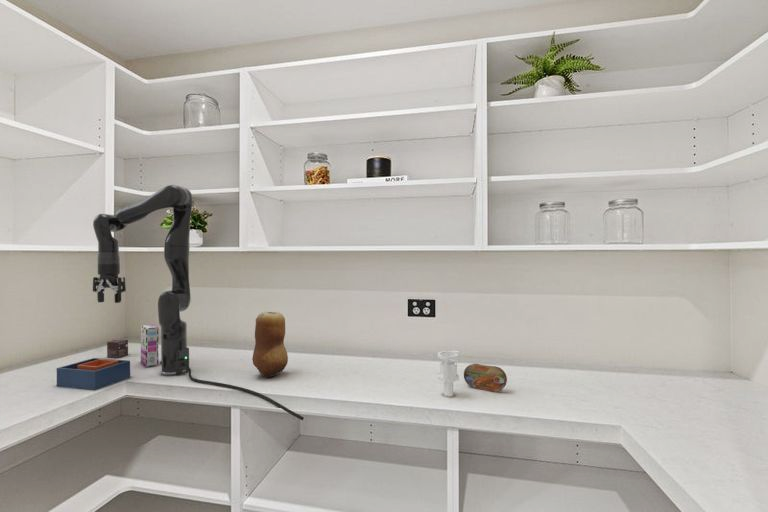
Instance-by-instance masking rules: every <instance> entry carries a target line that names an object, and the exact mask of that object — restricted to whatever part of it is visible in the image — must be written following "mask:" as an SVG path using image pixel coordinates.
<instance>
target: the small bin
mask: <svg viewBox="0 0 768 512" xmlns="http://www.w3.org/2000/svg"><path fill="white" fill-rule="evenodd" d="M106 359H107V358H102V359H98V360H95V361H91V362H87V363H84V364H80V365H77V369H81V370H93V371H96V370H99V369H102V368H106V367H109V366H112V365H116V364H119V361H118V360H119V359H115V360H106Z"/></svg>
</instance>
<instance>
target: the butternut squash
mask: <svg viewBox="0 0 768 512" xmlns="http://www.w3.org/2000/svg"><path fill="white" fill-rule="evenodd" d="M254 327H255V328H254V341H255V343H254V348H253V353H252V365H253V367H255V368H256V369H257V370H258V372H259V374H260V375H262V376H263V377H264V378H266V379H269V378H272V377H274V376H276V375H278V374H280V373H282V372H283V371H284V370H285V368H286V367H287V365H288V362H289V355H288V351H287V349H286V346H285V343H284V342H285V341H284V340H285V337H286V318H285V316H284V315H283V314H282V313H280V312H278V311H261V312H260V313H259V314H258V315H257V317H256V318H255V325H254Z"/></svg>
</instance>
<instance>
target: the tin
mask: <svg viewBox="0 0 768 512" xmlns="http://www.w3.org/2000/svg"><path fill="white" fill-rule="evenodd" d="M463 379H464V381H465V383H466V384H467V386H468V387H470V388H472V389H477V390H481V391H482V390H483V391H488V392H493V393H497V392H501V391H502V390H503V389H504V388H505V387H506V385H507V383H508V377H507V374H506V372H505V371H504V369H502V368H501V367H499V366H496V365H489V364H483V363H482V364H481V363H472V364H469V365H467V366H466V367H465V368H464V371H463Z"/></svg>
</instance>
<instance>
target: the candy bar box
mask: <svg viewBox="0 0 768 512" xmlns="http://www.w3.org/2000/svg"><path fill="white" fill-rule="evenodd" d="M140 363H141V364H142V365H143V366H145V367H146V368H150V367H156V366H159V326H156V325H154V324H144V325H141V326H140Z"/></svg>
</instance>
